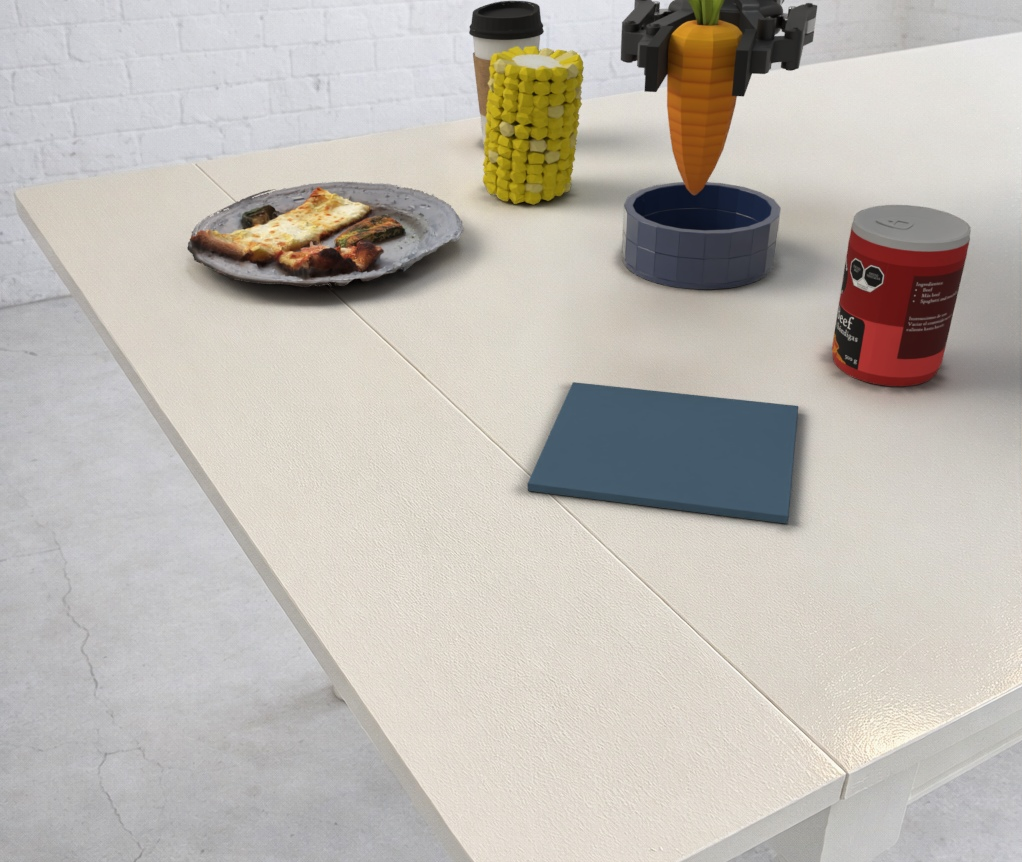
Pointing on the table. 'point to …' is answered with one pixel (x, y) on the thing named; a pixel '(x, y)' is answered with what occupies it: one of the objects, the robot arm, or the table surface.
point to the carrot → (701, 91)
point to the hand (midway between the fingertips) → (695, 71)
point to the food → (531, 123)
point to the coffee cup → (501, 39)
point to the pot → (700, 235)
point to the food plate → (324, 233)
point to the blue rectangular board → (671, 452)
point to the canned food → (899, 293)
